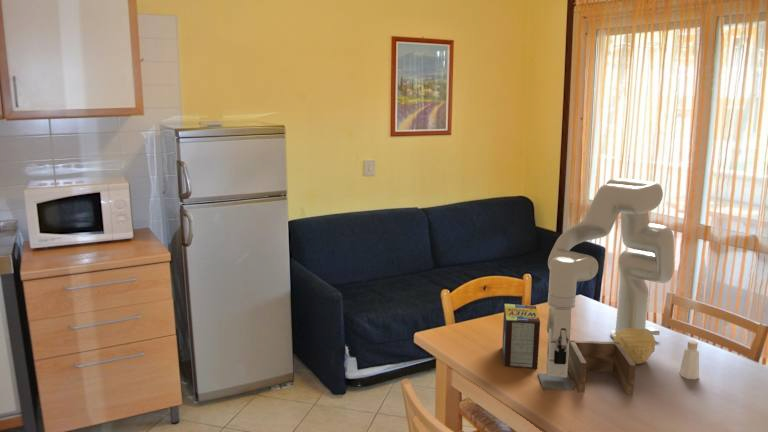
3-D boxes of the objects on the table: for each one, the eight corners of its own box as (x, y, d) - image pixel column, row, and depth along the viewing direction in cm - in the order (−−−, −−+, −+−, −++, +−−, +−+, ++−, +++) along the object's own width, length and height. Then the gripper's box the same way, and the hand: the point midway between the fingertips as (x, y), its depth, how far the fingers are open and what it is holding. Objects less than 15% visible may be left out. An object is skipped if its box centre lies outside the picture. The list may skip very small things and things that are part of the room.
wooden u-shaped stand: (616, 369, 191) (618, 342, 190) (632, 394, 175) (635, 365, 173) (567, 367, 193) (569, 340, 191) (578, 392, 176) (581, 362, 175)
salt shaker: (687, 380, 185) (691, 345, 182) (675, 372, 190) (679, 338, 188) (703, 379, 186) (707, 344, 184) (690, 371, 191) (694, 337, 189)
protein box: (533, 349, 206) (536, 305, 203) (537, 369, 191) (540, 321, 188) (501, 347, 208) (503, 303, 205) (503, 366, 193) (505, 319, 190)
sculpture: (624, 369, 192) (627, 336, 190) (605, 353, 204) (608, 322, 202) (658, 367, 194) (662, 334, 192) (637, 351, 205) (640, 320, 203)
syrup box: (567, 378, 178) (571, 330, 176) (546, 376, 179) (549, 328, 177) (565, 369, 184) (569, 323, 181) (545, 367, 185) (548, 321, 182)
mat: (568, 376, 186) (568, 374, 186) (574, 390, 177) (574, 388, 177) (537, 375, 187) (537, 373, 187) (542, 388, 178) (542, 387, 178)
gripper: (543, 290, 186) (539, 346, 190) (553, 309, 169) (549, 371, 173) (568, 291, 185) (564, 347, 189) (581, 310, 169) (577, 372, 172)
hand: (557, 358), depth 181 cm, fingers closed on syrup box, 6 cm apart
